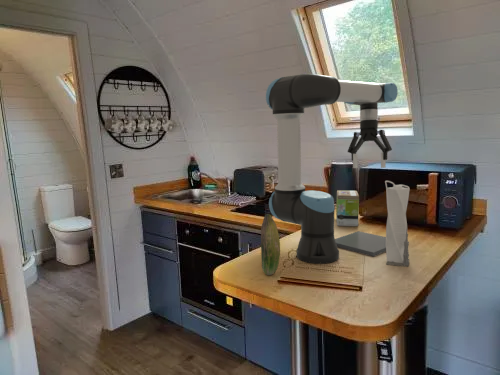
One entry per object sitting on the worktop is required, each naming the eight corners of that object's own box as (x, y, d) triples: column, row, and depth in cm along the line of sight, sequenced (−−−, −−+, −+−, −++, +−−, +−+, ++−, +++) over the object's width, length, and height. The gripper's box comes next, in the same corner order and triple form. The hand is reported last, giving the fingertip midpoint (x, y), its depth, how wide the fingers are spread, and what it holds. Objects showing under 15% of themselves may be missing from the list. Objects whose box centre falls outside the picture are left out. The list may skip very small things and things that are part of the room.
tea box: (358, 226, 178) (359, 195, 176) (336, 226, 180) (336, 195, 178) (356, 218, 193) (357, 189, 191) (336, 218, 195) (336, 189, 193)
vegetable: (280, 271, 127) (279, 212, 123) (281, 278, 120) (280, 216, 117) (261, 271, 127) (260, 212, 124) (261, 279, 121) (260, 217, 118)
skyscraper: (381, 264, 130) (383, 182, 126) (383, 256, 138) (385, 178, 133) (408, 266, 127) (411, 183, 123) (409, 259, 134) (412, 179, 130)
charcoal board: (373, 256, 138) (373, 252, 138) (328, 244, 153) (328, 241, 153) (402, 244, 150) (402, 240, 150) (358, 234, 166) (358, 231, 165)
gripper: (399, 117, 165) (399, 167, 166) (348, 123, 183) (348, 168, 184) (391, 116, 159) (391, 167, 161) (339, 122, 177) (340, 168, 179)
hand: (368, 167), depth 172 cm, fingers open, 13 cm apart
